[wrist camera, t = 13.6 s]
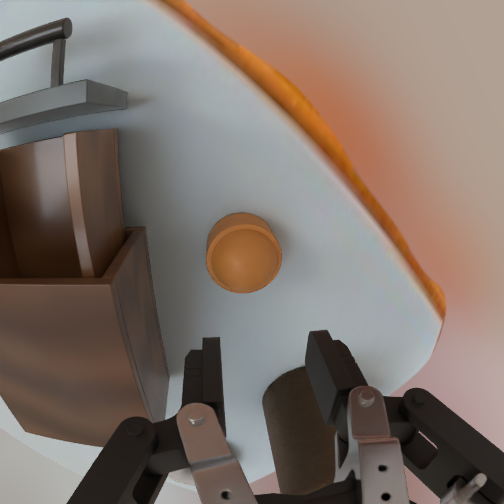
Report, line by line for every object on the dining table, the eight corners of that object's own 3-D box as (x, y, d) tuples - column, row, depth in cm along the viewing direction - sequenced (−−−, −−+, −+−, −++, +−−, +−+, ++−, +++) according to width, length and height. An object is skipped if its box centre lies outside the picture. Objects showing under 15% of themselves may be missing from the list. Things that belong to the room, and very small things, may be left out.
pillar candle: (273, 363, 29) (307, 501, 16) (359, 363, 31) (418, 476, 17) (254, 421, 33) (273, 535, 19) (330, 419, 35) (366, 518, 21)
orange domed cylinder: (208, 276, 25) (207, 309, 21) (205, 213, 23) (203, 235, 19) (273, 274, 25) (285, 305, 21) (276, 211, 23) (289, 232, 19)
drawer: (-6, 66, 15) (-63, 60, 8) (130, 28, 16) (95, -9, 9) (19, 285, 22) (-22, 331, 16) (142, 285, 24) (121, 344, 17)
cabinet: (7, 235, 21) (-54, 282, 13) (145, 226, 23) (110, 284, 14) (53, 370, 27) (25, 432, 19) (169, 377, 29) (162, 452, 20)
